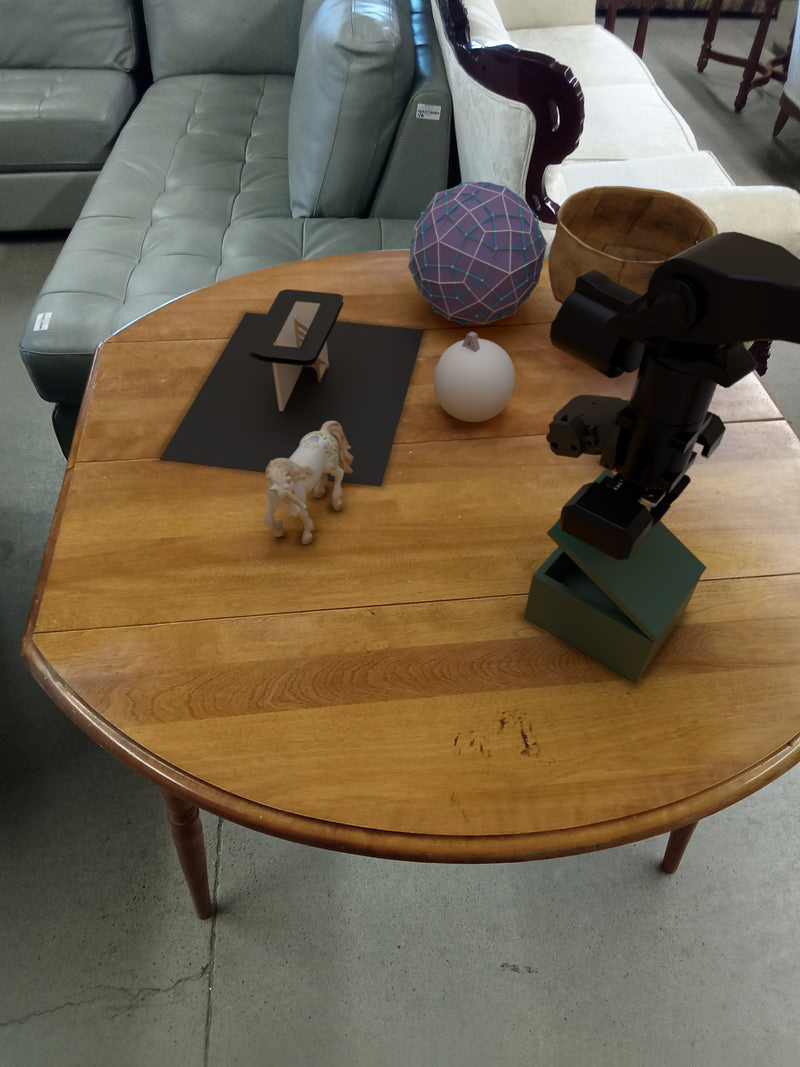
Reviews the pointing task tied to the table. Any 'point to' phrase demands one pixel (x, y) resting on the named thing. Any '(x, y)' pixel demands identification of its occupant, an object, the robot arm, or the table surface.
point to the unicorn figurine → (307, 476)
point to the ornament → (474, 379)
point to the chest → (591, 617)
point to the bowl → (622, 235)
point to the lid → (639, 574)
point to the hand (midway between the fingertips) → (624, 540)
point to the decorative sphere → (476, 253)
